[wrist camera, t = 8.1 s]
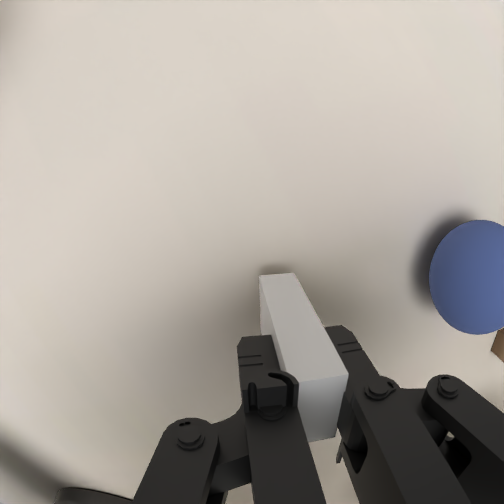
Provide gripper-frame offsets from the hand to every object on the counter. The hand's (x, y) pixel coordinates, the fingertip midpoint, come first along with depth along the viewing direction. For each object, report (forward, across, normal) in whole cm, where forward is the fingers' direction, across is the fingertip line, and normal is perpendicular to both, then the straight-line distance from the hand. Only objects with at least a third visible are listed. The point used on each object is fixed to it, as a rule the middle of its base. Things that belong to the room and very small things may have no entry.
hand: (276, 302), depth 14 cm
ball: (-1, +11, 0) cm, 11 cm away
